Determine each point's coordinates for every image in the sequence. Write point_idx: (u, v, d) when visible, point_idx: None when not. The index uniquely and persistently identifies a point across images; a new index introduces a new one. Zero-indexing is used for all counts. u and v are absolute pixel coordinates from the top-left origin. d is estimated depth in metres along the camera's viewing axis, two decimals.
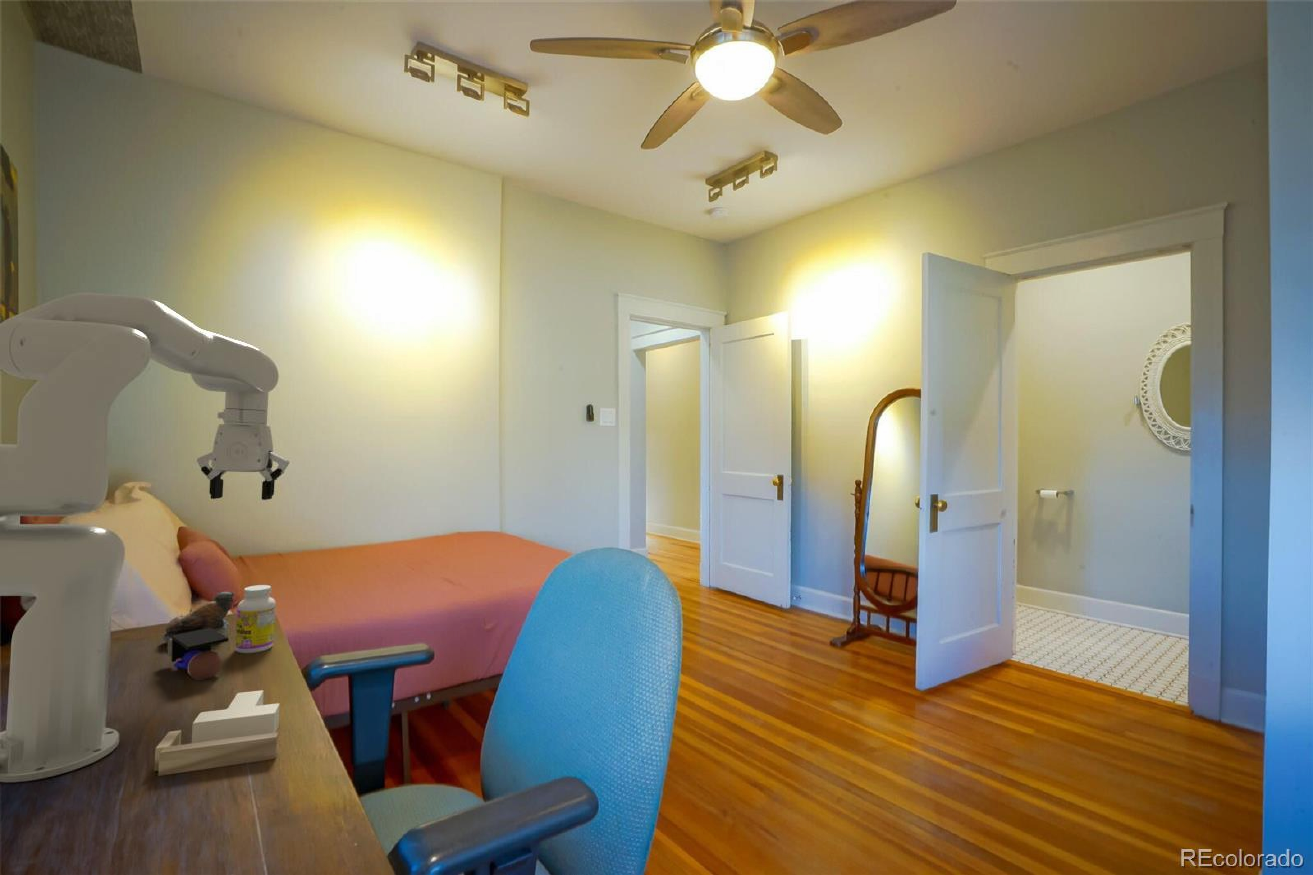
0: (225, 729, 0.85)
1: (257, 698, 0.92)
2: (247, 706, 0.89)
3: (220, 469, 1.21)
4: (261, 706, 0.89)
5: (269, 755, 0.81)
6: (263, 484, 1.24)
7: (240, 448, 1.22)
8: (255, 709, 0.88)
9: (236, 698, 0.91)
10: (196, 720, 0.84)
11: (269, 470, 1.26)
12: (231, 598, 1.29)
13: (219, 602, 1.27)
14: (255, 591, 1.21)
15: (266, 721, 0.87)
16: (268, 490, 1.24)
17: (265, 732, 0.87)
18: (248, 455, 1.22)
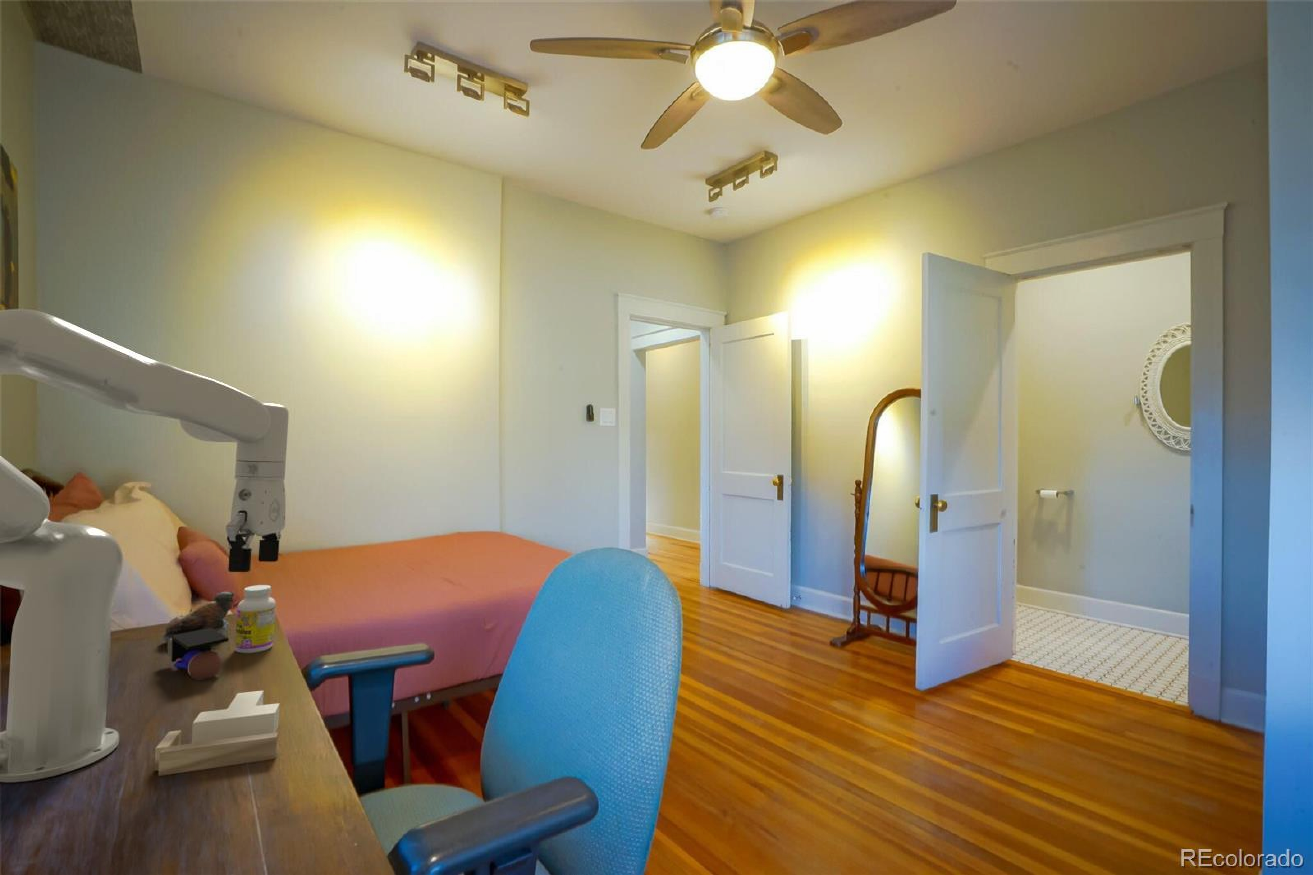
0: (225, 729, 0.85)
1: (257, 698, 0.92)
2: (247, 706, 0.89)
3: (264, 533, 1.03)
4: (261, 706, 0.89)
5: (269, 755, 0.81)
6: (277, 544, 1.10)
7: (276, 506, 1.06)
8: (255, 709, 0.88)
9: (236, 698, 0.91)
10: (196, 720, 0.84)
11: None
12: (231, 598, 1.29)
13: (219, 602, 1.27)
14: (255, 591, 1.21)
15: (266, 721, 0.87)
16: None
17: (265, 732, 0.87)
18: (280, 513, 1.08)
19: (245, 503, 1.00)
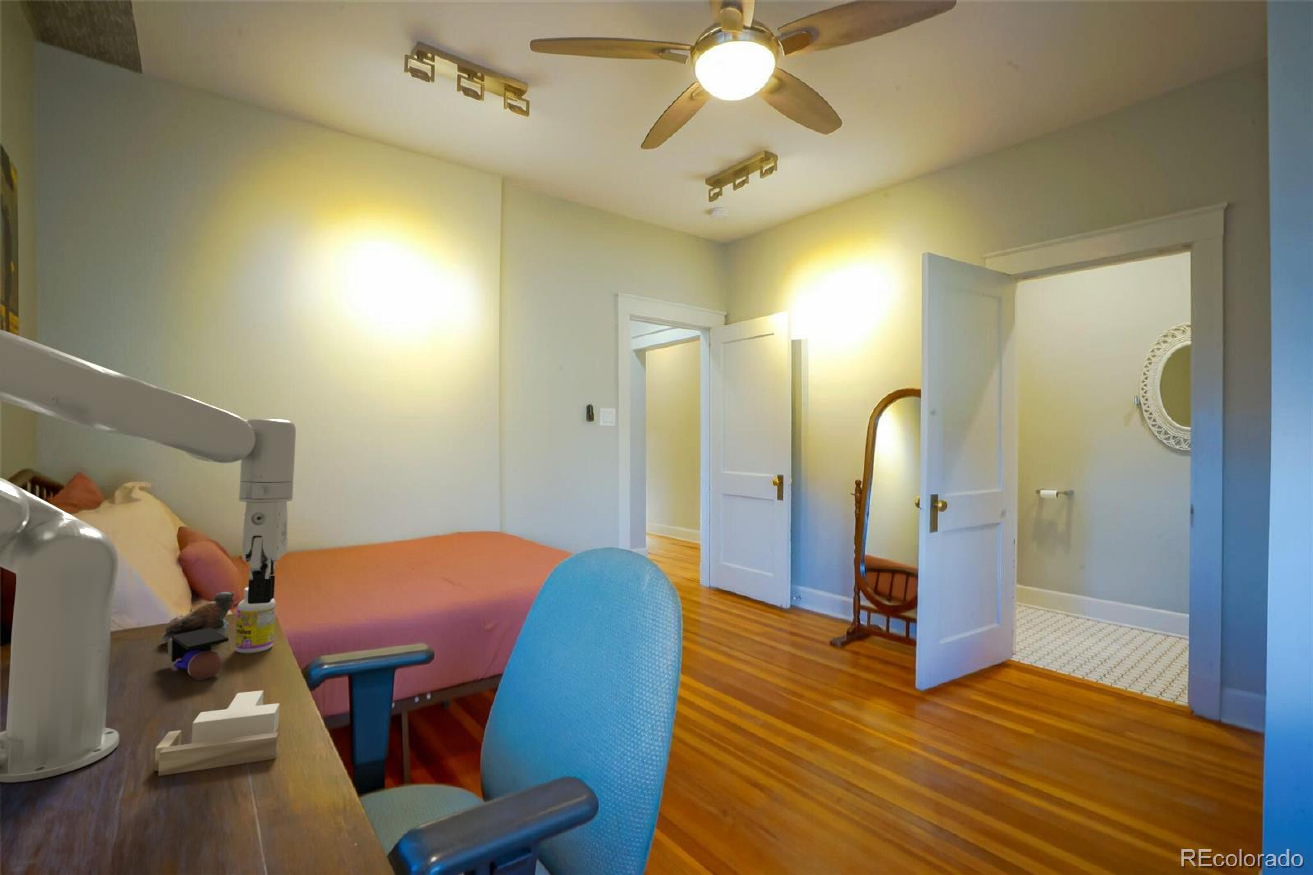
0: (225, 729, 0.85)
1: (257, 698, 0.92)
2: (247, 706, 0.89)
3: (278, 559, 0.96)
4: (261, 706, 0.89)
5: (269, 755, 0.81)
6: (274, 580, 1.00)
7: (284, 528, 1.00)
8: (255, 709, 0.88)
9: (236, 698, 0.91)
10: (196, 720, 0.84)
11: None
12: (231, 598, 1.29)
13: (219, 602, 1.27)
14: None
15: (266, 721, 0.87)
16: None
17: (265, 732, 0.87)
18: (285, 535, 1.01)
19: (260, 527, 0.94)
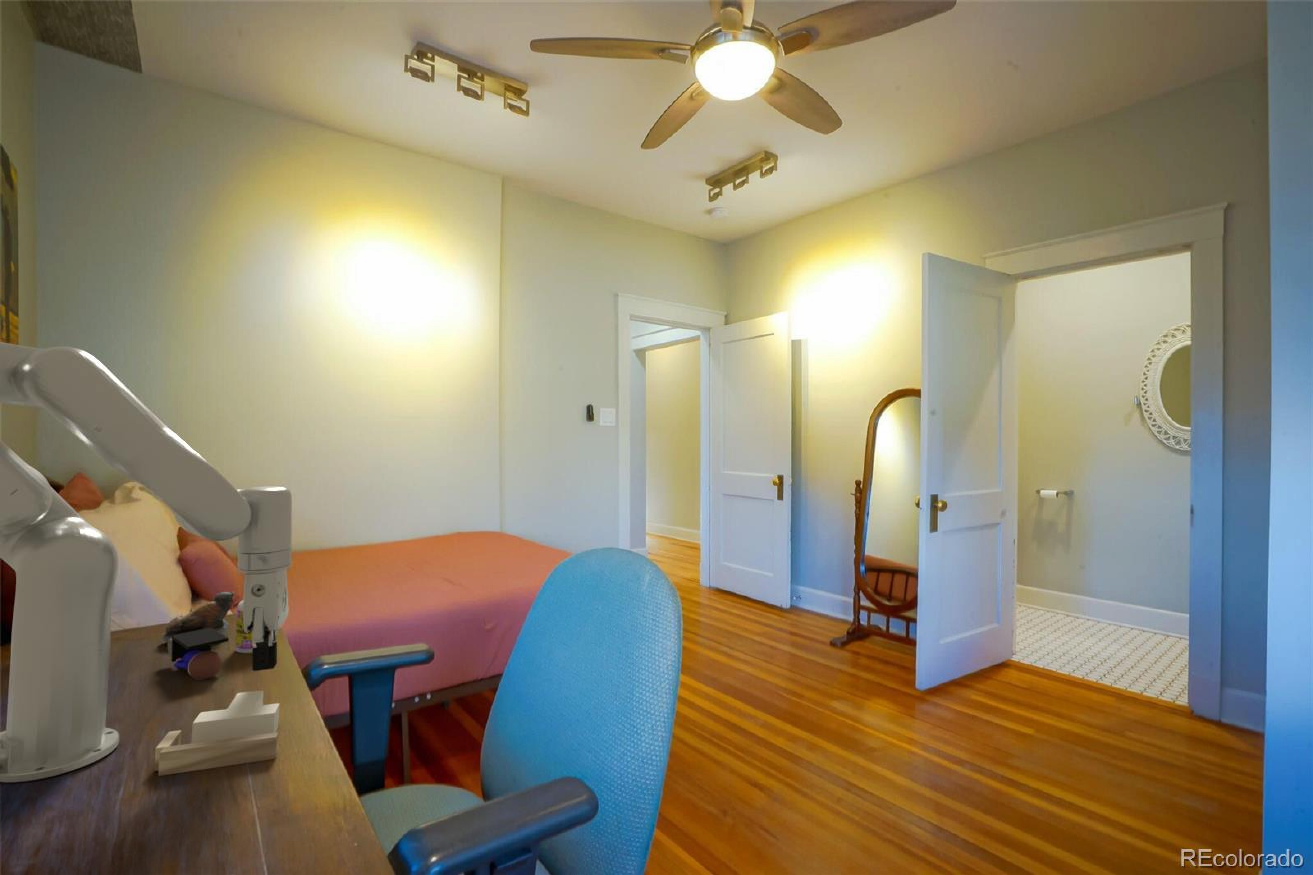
0: (225, 729, 0.85)
1: (257, 698, 0.92)
2: (247, 706, 0.89)
3: (280, 627, 0.97)
4: (261, 706, 0.89)
5: (269, 755, 0.81)
6: (276, 647, 0.99)
7: (284, 594, 1.00)
8: (255, 709, 0.88)
9: (236, 698, 0.91)
10: (196, 720, 0.84)
11: None
12: (231, 598, 1.29)
13: (219, 602, 1.27)
14: None
15: (266, 721, 0.87)
16: None
17: (265, 732, 0.87)
18: (286, 600, 1.02)
19: (260, 599, 0.94)
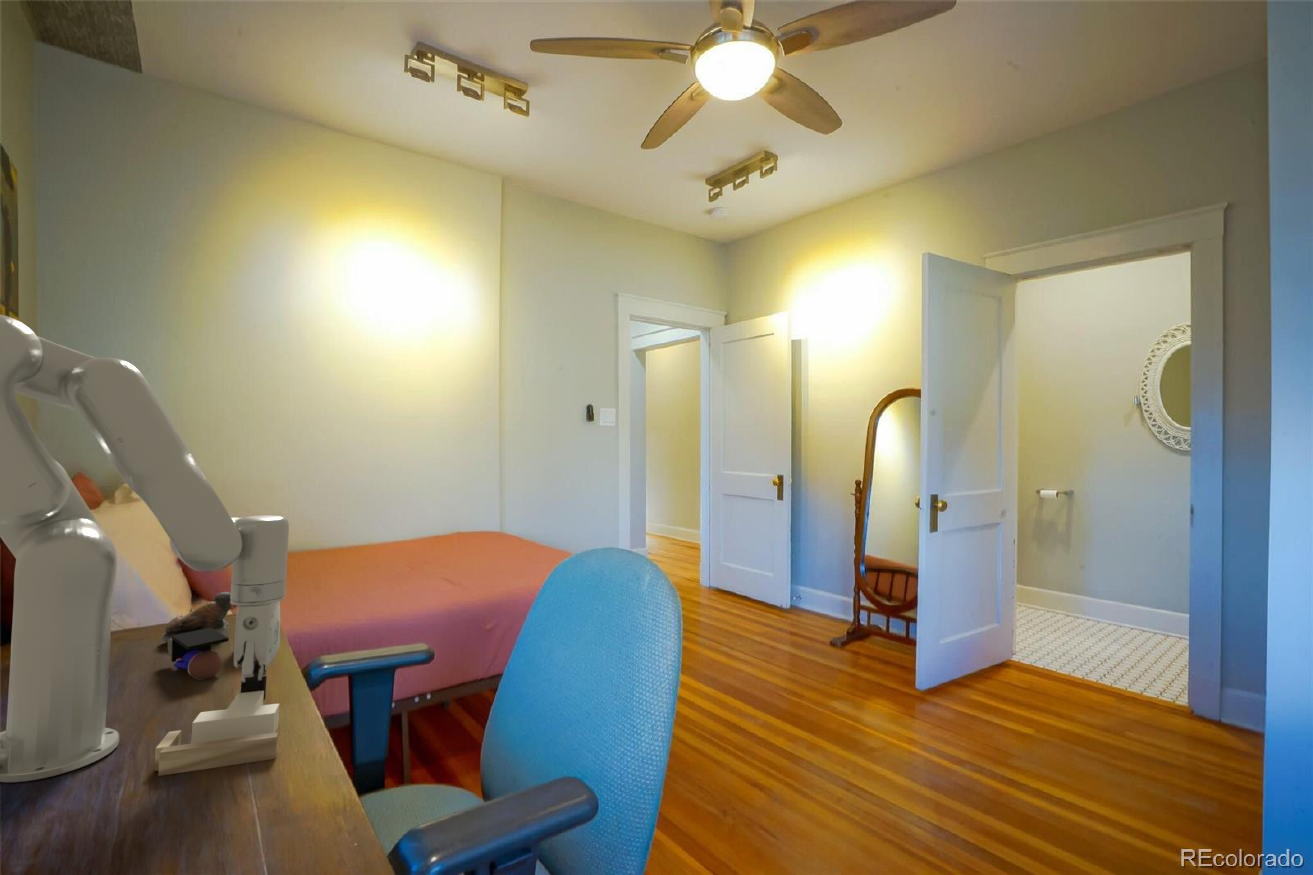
0: (225, 729, 0.85)
1: (257, 698, 0.92)
2: (247, 706, 0.89)
3: (270, 661, 0.94)
4: (261, 706, 0.89)
5: (269, 755, 0.81)
6: (265, 681, 0.97)
7: (277, 627, 0.98)
8: (255, 709, 0.88)
9: (236, 698, 0.91)
10: (196, 720, 0.84)
11: None
12: None
13: (219, 602, 1.27)
14: None
15: (266, 721, 0.87)
16: None
17: (265, 732, 0.87)
18: (278, 632, 0.99)
19: (252, 632, 0.92)
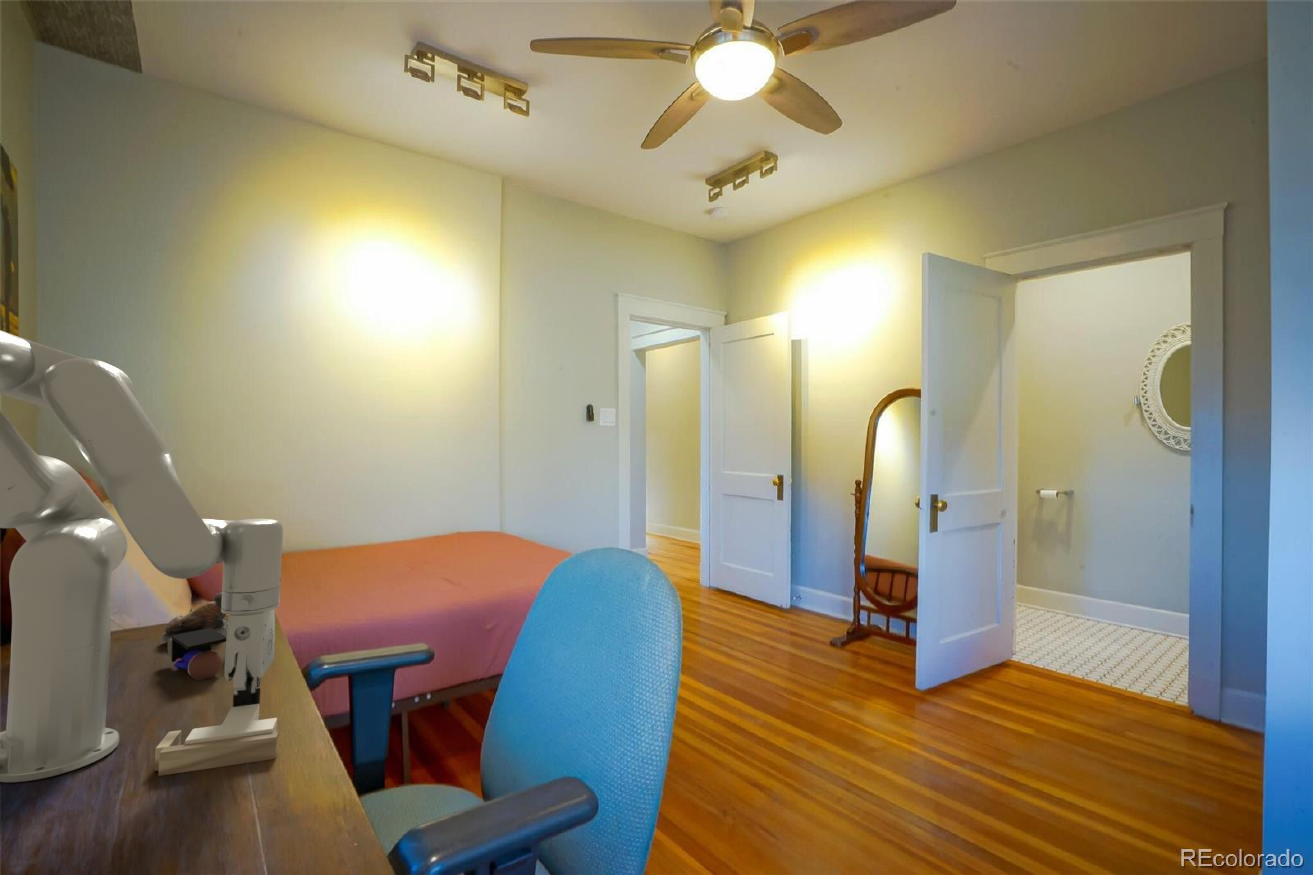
0: None
1: (253, 712, 0.87)
2: (243, 721, 0.84)
3: (264, 673, 0.89)
4: (258, 721, 0.84)
5: (269, 755, 0.81)
6: (259, 693, 0.92)
7: (271, 636, 0.93)
8: (251, 724, 0.83)
9: (230, 713, 0.86)
10: (189, 737, 0.79)
11: None
12: None
13: (219, 602, 1.27)
14: None
15: None
16: None
17: None
18: (272, 642, 0.94)
19: (244, 643, 0.87)
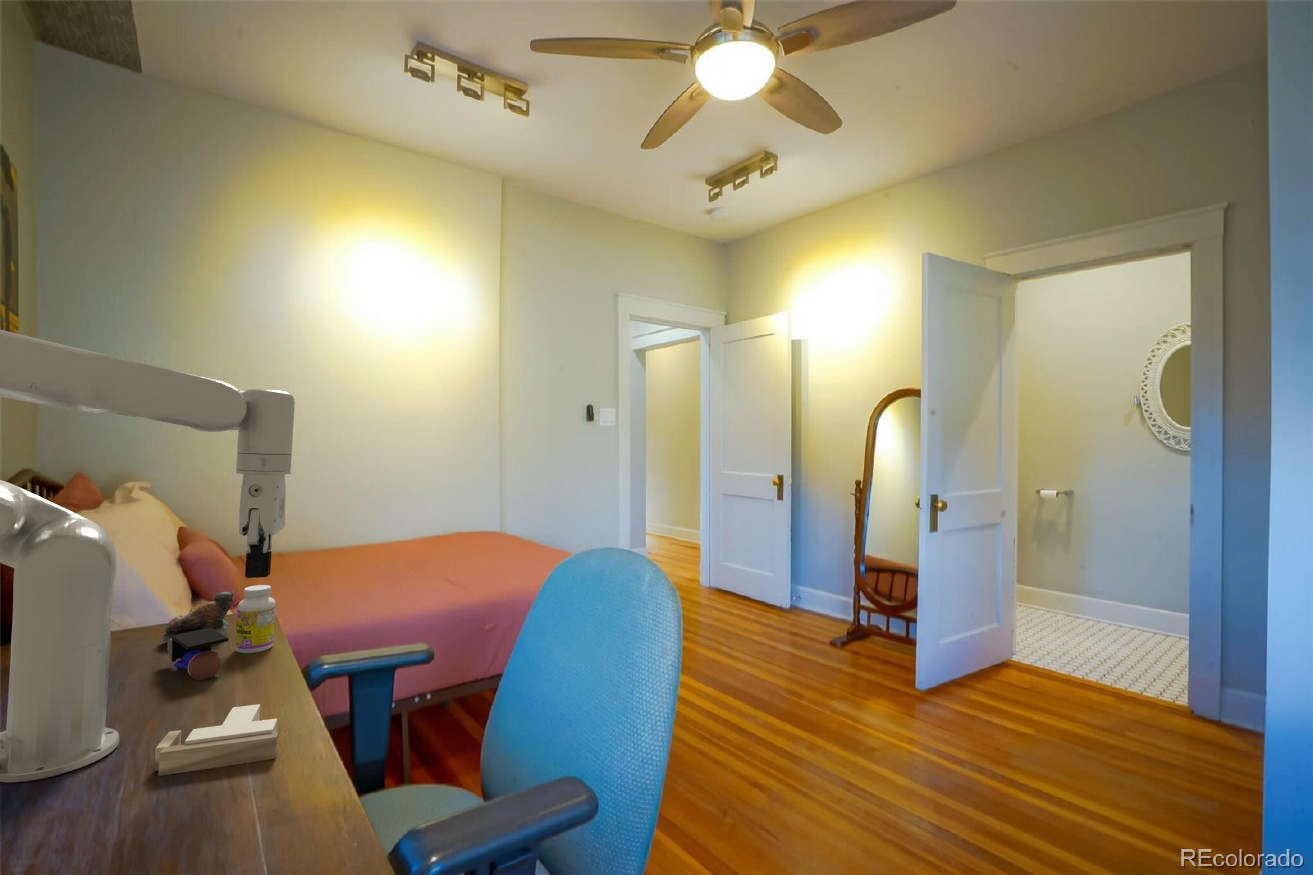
0: None
1: (253, 713, 0.87)
2: (243, 722, 0.84)
3: (275, 533, 0.94)
4: (258, 722, 0.84)
5: (269, 755, 0.81)
6: (270, 556, 0.97)
7: (282, 503, 0.97)
8: (252, 725, 0.83)
9: (231, 713, 0.86)
10: (189, 738, 0.79)
11: None
12: (230, 598, 1.29)
13: (218, 602, 1.27)
14: (255, 591, 1.21)
15: None
16: None
17: None
18: (283, 510, 0.99)
19: (257, 500, 0.91)
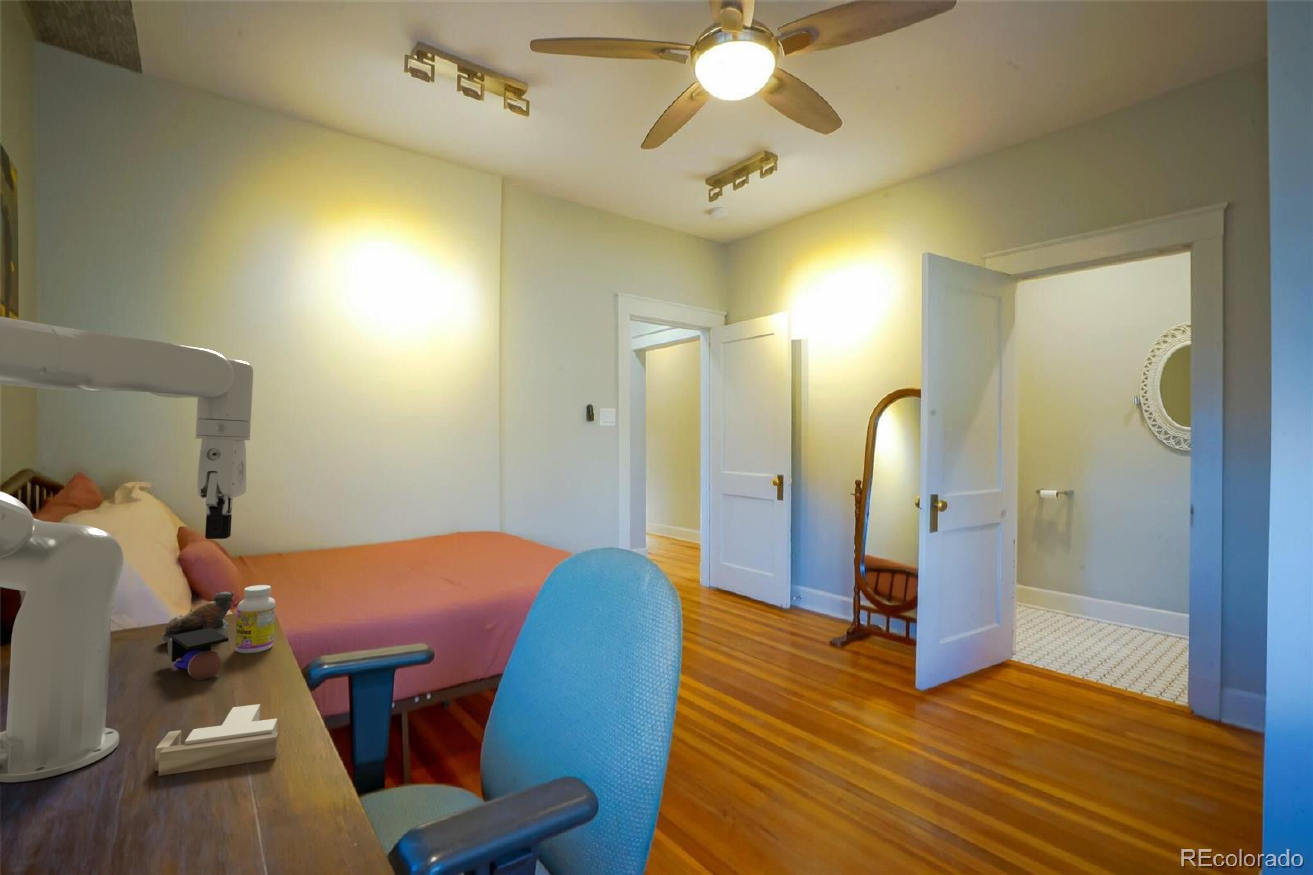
0: None
1: (253, 713, 0.87)
2: (243, 722, 0.84)
3: (234, 495, 0.98)
4: (258, 722, 0.84)
5: (269, 755, 0.81)
6: (230, 518, 1.01)
7: (241, 468, 1.02)
8: (251, 725, 0.83)
9: (231, 713, 0.86)
10: (189, 738, 0.79)
11: None
12: (230, 598, 1.29)
13: (218, 602, 1.26)
14: (255, 591, 1.21)
15: None
16: None
17: None
18: (243, 475, 1.03)
19: (215, 463, 0.95)
